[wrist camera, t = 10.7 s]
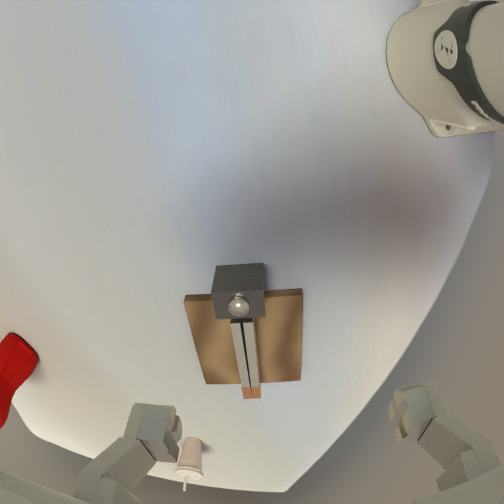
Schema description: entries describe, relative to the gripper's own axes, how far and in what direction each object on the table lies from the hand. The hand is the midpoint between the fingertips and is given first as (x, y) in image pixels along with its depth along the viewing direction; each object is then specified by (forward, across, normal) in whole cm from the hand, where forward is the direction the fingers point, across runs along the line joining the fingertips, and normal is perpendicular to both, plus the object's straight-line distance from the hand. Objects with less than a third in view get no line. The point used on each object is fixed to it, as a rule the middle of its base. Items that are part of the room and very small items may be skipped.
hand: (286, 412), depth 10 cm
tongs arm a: (+27, +3, +23) cm, 36 cm away
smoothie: (+29, +20, +58) cm, 68 cm away
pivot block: (+29, +4, +12) cm, 32 cm away
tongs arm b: (+27, +5, +23) cm, 36 cm away
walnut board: (+29, +4, +24) cm, 38 cm away
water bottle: (+29, +54, +28) cm, 67 cm away
